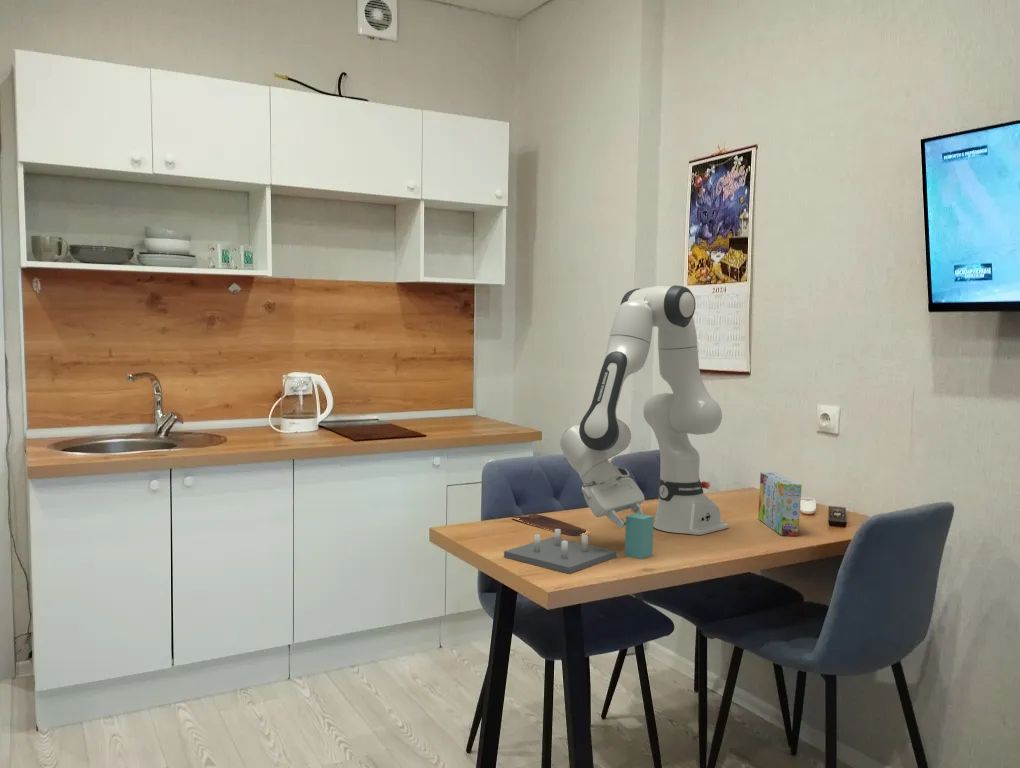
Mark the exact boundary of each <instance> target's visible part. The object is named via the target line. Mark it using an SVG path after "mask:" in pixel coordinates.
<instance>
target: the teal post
mask: <svg viewBox="0 0 1020 768" xmlns="http://www.w3.org/2000/svg"><path fill="white" fill-rule="evenodd" d="M654 518H655V517H654V515H648V514H644V513H643V514H639V513H635V512H634V513H633V514H630V515H625V522H626V525H625V536H624V538H625V540H624V556H627V557H632V558H635V559H638V560H639V559H640V560H644V559H647V558H650V557H652V556H653V546H654V545H653V543H654V541H653V539H654V527H653V524H654Z"/></svg>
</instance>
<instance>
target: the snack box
mask: <svg viewBox="0 0 1020 768" xmlns="http://www.w3.org/2000/svg"><path fill="white" fill-rule="evenodd" d="M759 480H760V481H759V498H758V500H759V501H758V513H757V515H758V516H757V519H760V520H761V521H762V522H761V521H760V520H759V521H760V522H761V523H763V524H764V523H765V524H764V525H766V526H767V527H769V528H770V529H772V530H773V531H775V533H777V534H778V533H779V534H778V535H780V536H782V537H798V536H799V531H800V530H799V529H800V527H799V526H800V513H801V501H802V500H801V499H802V487H803V486H802V484H801V483H800V482H797V481H796V480H792V479H791V478H788V477H786V476H784V475H783V474H780V473H778V472H770V471H764V472H763V471H761V472H760V479H759Z"/></svg>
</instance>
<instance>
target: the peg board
mask: <svg viewBox="0 0 1020 768" xmlns="http://www.w3.org/2000/svg"><path fill="white" fill-rule="evenodd" d="M561 535H562V533H561V529H555V532H554V536H551V537H547V538H545V539H541V534H534V535H533V536H534V537H533V539H534V540H533V541H534V542H531V543H528V544H524V545H520V546H517V547H515V548H510V549H507V550H504V551H503V557H504V558H505V557H508V558H507V559H509V558H510V559H509V560H513V559H514V561H517V562H521V563H524V564H530V565H533V566H537V567H540V568H545V569H548V570H549V569H550V570H552V571H556V572H559V573H560V572H561V573H565V574H568V575H571V574H573V573H576V572H579V571H581V570H584V569H587V568H589V567H590V568H591V567H592V566H595V565H597V564H601V563H604V562H607V561H609V560H612V559H615V558H617V554H618V552H617V550H614V549H609V548H605V547H600V546H595V545H591V544H588V542H589V540H588V538H589V536H588V535H589V534H585V535H581V542H577V541H573V540H570V539H564V538H561V537H562V536H561Z"/></svg>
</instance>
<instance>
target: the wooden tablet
mask: <svg viewBox="0 0 1020 768" xmlns="http://www.w3.org/2000/svg"><path fill="white" fill-rule="evenodd" d="M512 518H520V519H519V520H522V521H523V522H525V523H529V524H532V525H535V526H538V527H537V528H539V527H542V528H541V529H543V528H545V529H544V530H546V529H549V530H548V531H550V530H552V531H551V532H554V531H555V529H561V534H562V533H563V535H566V534H567V535H566V536H571V535H572V537H577V536H576V535H579V536H581V535H580V534H582V533H585V532H586V530H587V529H585V528H582V527H580V526H575V525H574V524H570V523H568V522H566V521H565V522H564V521H563V520H559V519H557V518H553V517H549V516H546V515H543V514H542V515H541V514H537V513H531V514H529V515H526V516H523V515H520V516H512ZM525 523H524V524H525ZM532 525H531V526H532ZM535 526H534V527H535Z"/></svg>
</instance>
